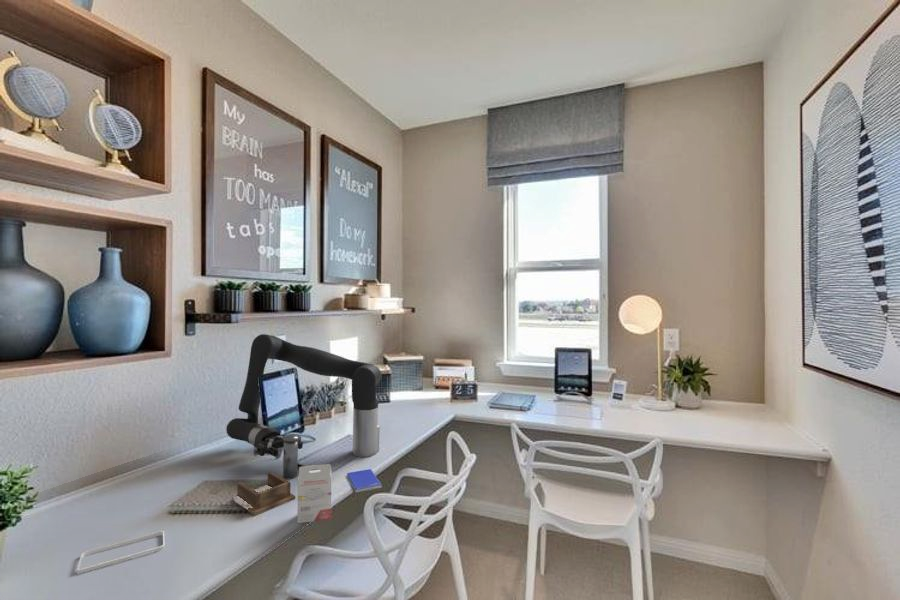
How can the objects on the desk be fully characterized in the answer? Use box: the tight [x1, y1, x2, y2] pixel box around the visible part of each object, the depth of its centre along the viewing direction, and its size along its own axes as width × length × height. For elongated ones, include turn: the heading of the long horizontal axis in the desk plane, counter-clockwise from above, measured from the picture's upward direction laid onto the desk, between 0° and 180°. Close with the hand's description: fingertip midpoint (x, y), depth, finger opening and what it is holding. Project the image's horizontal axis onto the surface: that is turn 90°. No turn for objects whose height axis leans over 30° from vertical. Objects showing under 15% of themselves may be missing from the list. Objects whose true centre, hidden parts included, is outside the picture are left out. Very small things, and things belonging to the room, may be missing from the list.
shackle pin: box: [282, 433, 301, 480], centre depth 130 cm, size 5×5×13 cm
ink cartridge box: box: [296, 463, 333, 524], centre depth 107 cm, size 9×5×15 cm, turn 106°
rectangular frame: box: [76, 530, 166, 575], centre depth 90 cm, size 7×1×15 cm
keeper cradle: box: [236, 471, 296, 517], centre depth 115 cm, size 12×13×5 cm
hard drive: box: [346, 468, 383, 493], centre depth 128 cm, size 2×8×12 cm
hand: (289, 449), depth 131 cm, fingers open, 8 cm apart
